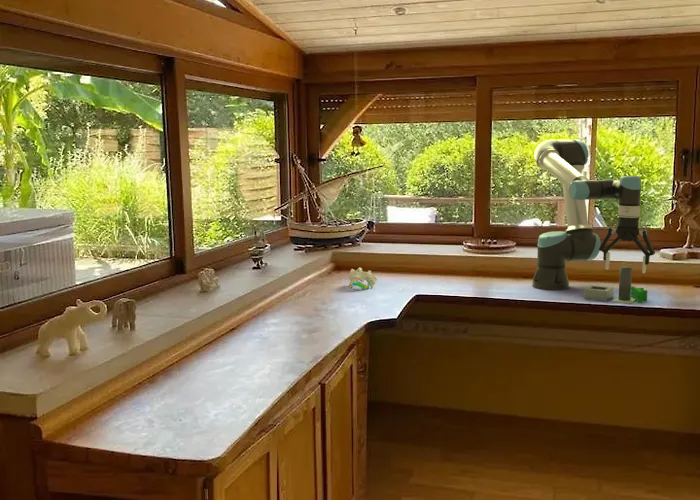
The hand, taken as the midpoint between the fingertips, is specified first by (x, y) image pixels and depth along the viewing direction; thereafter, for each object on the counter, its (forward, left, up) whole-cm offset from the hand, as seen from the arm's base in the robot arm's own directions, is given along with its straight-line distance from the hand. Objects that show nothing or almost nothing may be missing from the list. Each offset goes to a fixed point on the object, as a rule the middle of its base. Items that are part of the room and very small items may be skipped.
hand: (625, 271), depth 274 cm
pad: (0, 0, -12) cm, 12 cm away
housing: (-10, 0, -12) cm, 15 cm away
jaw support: (-101, -34, -12) cm, 108 cm away
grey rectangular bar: (0, 0, -11) cm, 11 cm away
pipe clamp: (+5, +5, -12) cm, 14 cm away
